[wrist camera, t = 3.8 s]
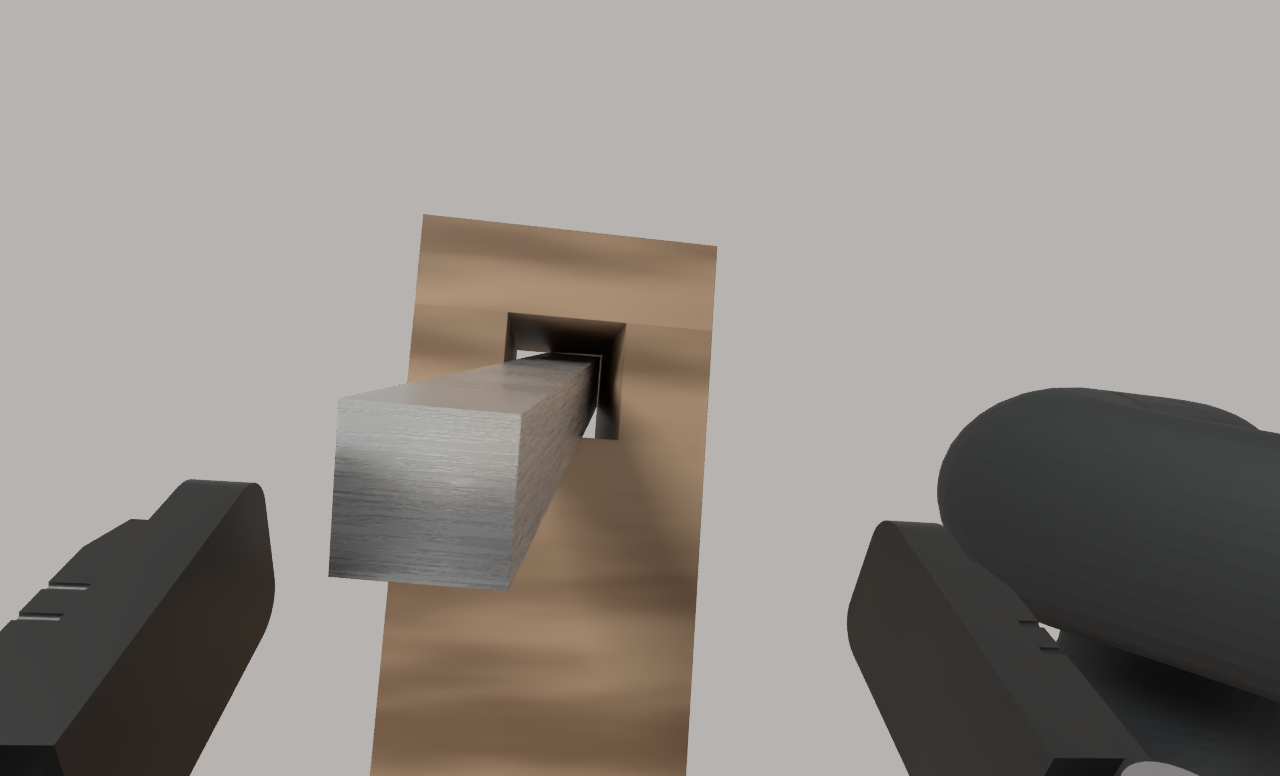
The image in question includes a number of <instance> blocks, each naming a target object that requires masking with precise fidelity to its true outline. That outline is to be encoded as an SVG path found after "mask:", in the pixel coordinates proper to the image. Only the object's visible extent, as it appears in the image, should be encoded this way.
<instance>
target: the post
mask: <svg viewBox="0 0 1280 776" xmlns="http://www.w3.org/2000/svg"><path fill="white" fill-rule="evenodd" d="M716 255H717V246H710V245H701V244H691V243H682V242H673V241H664V240H655V239H645V238H636V237H627V236H617V235H609V234H599V233H591V232H581V231H572V230H563V229H554V228H544V227H536V226H526V225H517V224H508V223H499V222H489V221H480V220H471V219H462V218H452V217H444V216H434V215H425V214H424V215H423V225H422V234H421V245H420V255H419V266H418V277H417V287H416V298H415V308H414V318H413V329H412V339H411V350H410V361H409V372H408V382H407V383H412V382H416V381H421V380H425V379H430V378H434V377H439V376H444V375H448V374H453V373H457V372H462V371H466V370H471V369H476V368H480V367H485V366H489V365H494V364H498V363H503V362H508V361H512V360H516V355H517V350H524V351H536V352H548V353H549V352H555V353H566V354H578V355H589V356H600V357H601V363H600V375H599V387H598V401H597V415H596V429H595V439H593V438H581V440H580V443H579V445H578V447H577V449H576V451H575V453H574V455H573V457H572V459H571V461H570V463H569V465H568V468H567V470H566V472H565V474H564V476H563V478H562V480H561V482H560V484H559V486H558V488H557V490H556V493H555V495H554V497H553V499H552V501H551V503H550V505H549V507H548V509H547V511H546V513H545V515H544V518H543V520H542V522H541V524H540V526H539V528H538V530H537V532H536V534H535V536H534V538H533V540H532V542H531V545H530V547H529V549H528V551H527V553H526V555H525V557H524V559H523V561H522V563H521V565H520V567H519V570H518V572H517V574H516V576H515V578H514V580H513V582H512V584H511V586H510V588H509V590H508V591H497V590H485V589H473V588H461V587H449V586H436V585H424V584H412V583H400V582H388V593H387V603H386V613H385V624H384V634H383V645H382V657H381V666H380V676H379V687H378V698H377V708H376V718H375V729H374V740H373V751H372V761H371V771H370V776H686V765H687V764H686V763H687V747H688V730H689V715H690V696H691V681H692V664H693V647H694V646H693V645H694V630H695V613H696V596H697V579H698V562H699V545H700V544H699V543H700V528H701V511H702V510H701V509H702V494H703V476H704V460H705V443H706V426H707V409H708V391H709V375H710V359H711V342H712V324H713V307H714V290H715V273H716V257H717V256H716Z"/></svg>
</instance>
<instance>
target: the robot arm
mask: <svg viewBox="0 0 1280 776" xmlns="http://www.w3.org/2000/svg"><path fill="white" fill-rule="evenodd" d="M937 497H938V505H939V510H940V516H941V521H942V523H943V526H944V527H943V526H942V525H940V524H937V523H920V522H903V521H901V522H900V521H883V522H881V523H880V524H879V525H878V526H877V527H876V529H875V531H874V533H873V536H872V539H871V542H870V545H869V548H868V551H867V554H866V556H865V560H864V562H863V566H862V568H861V571H860V574H859V577H858V580H857V583H856V586H855V589H854V592H853V595H852V598H851V601H850V604H849V608H848V615H847V631H848V638H849V643H850V647H851V650H852V652H853V655H854V657H855V659H856V661H857V664H858V666H859V668H860V670H861V672H862V674H863V676H864V679H865V681H866V683H867V685H868V687H869V689H870V692H871V694H872V696H873V698H874V700H875V702H876V705H877V707H878V709H879V711H880V713H881V715H882V717H883V720H884V722H885V724H886V726H887V728H888V730H889V733H890V735H891V737H892V739H893V741H894V743H895V746H896V748H897V750H898V752H899V754H900V756H901V758H902V761H903V763H904V764H905V767H906V769H907V771H908V774H909V776H1280V434H1278V433H1273V432H1267V431H1261V430H1259V429H1257V428H1256V427H1255V426H1253V425H1252V424H1250V423H1249V422H1248V421H1246V420H1244V419H1242V418H1240V417H1238V416H1237V415H1234V414H1232V413H1229V412H1227V411H1224V410H1222V409H1219V408H1216V407H1212V406H1209V405H1206V404H1201V403H1195V402H1190V401H1185V400H1178V399H1170V398H1163V397H1155V396H1147V395H1139V394H1130V393H1122V392H1114V391H1106V390H1097V389H1089V388H1050V389H1044V390H1038V391H1032V392H1028V393H1024V394H1021V395H1019V396H1016V397H1013V398H1011V399H1008V400H1005V401H1003V402H1000V403H998V404H996V405H994V406H993V407H991V408H989V409H988V410H986V411H985V412H983V413H981V414H980V415H979V416H977V417H976V418H975V419H974V420H973V421H972V422H970V423H969V424H968V425H967V426H966V427H965V428H964V429H963V430H962V431H961V432H960V434H959V435H958V436H957V437H956V439H955V440H954V441H953V443H952V444H951V445H950V448H949V450H948V452H947V454H946V456H945V458H944V460H943V462H942V466H941V469H940V473H939V478H938V487H937ZM274 592H275V579H274V570H273V562H272V553H271V545H270V537H269V528H268V520H267V512H266V504H265V497H264V493H263V490H262V488H261V487H260V486H259V485H258V484H257V483H245V482H228V481H210V480H193V479H190V480H186V481H185V482H183V483H182V484H181V485H180V486H179V487H178V488H177V489H176V490H175V491H174V492H173V493H172V494H171V495H170V497H169V498H168V499H167V500H166V501H165V502H164V503H163V504H162V505H161V507H160V508H159V509H158V510H157V511H156V512H155V513H154V514H153V516H152V517H151V518H150V519H149V520H138V519H130V520H128V521H127V522H125V523H123V524H122V525H120V526H118V527H116V528H115V529H113V530H112V531H110V532H108V533H106V534H104V535H103V536H101V537H100V538H98V539H96V540H94V541H92V542H91V543H89V544H87V545H86V546H84V547H83V548H82V549H81V550H80V551H79V552H78V553H77V554H76V555H75V556H74V557H73V558H72V559H71V560H70V561H69V562H68V563H67V564H66V565H65V566H64V567H63V568H62V569H61V570H60V571H59V572H58V573H57V574H56V575H55V576H54V577H53V578H52V579H51V580H50V581H49V586H48V588H47V589H41V590H40V591H39V592H38V594H36V596H34V597H33V599H32V600H31V601H30V602H29V603H28V604H27V605H26V606H25V607H24V608H23V609H22V610H21V611H20V612H19V618H18V619H17V620H11V621H10V622H9V623H8V624H7V625H6V626H5V627H4V628H3V629H2V630H1V631H0V776H190V774H191V772H192V770H193V768H194V766H195V764H196V762H197V760H198V759H199V757H200V755H201V753H202V751H203V749H204V747H205V745H206V743H207V741H208V740H209V738H210V736H211V734H212V732H213V730H214V728H215V726H216V724H217V722H218V721H219V719H220V717H221V715H222V713H223V711H224V709H225V707H226V705H227V703H228V701H229V700H230V698H231V696H232V694H233V692H234V690H235V688H236V686H237V684H238V682H239V681H240V678H241V677H242V675H243V673H244V671H245V669H246V667H247V665H248V663H249V662H250V660H251V657H252V656H253V654H254V652H255V650H256V648H257V646H258V644H259V643H260V640H261V639H262V637H263V635H264V633H265V630H266V628H267V625H268V623H269V619H270V616H271V612H272V607H273V602H274V594H275V593H274ZM1038 622H1040V623H1043V624H1045V625H1048V626H1051V627H1054V628H1057V629H1060V634H1059V638H1058V640H1057V641H1056V642H1055V641H1054V639H1053V638H1052V637H1051V636H1050V635H1049V633H1048V632H1047V631H1046V630H1045V628H1041V627H1039V625H1038Z"/></svg>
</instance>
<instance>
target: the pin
mask: <svg viewBox="0 0 1280 776" xmlns="http://www.w3.org/2000/svg"><path fill="white" fill-rule="evenodd" d="M600 363H601V357H600V356H589V355H578V354H566V353H555V352H549V353H545V354H540V355H535V356H531V357H526V358H521V359H517V360H512V361H508V362H503V363H498V364H494V365H489V366H485V367H480V368H476V369H471V370H466V371H462V372H457V373H453V374H448V375H444V376H439V377H434V378H430V379H425V380H421V381H416V382H412V383H407V384H402V385H398V386H394V387H389V388H384V389H380V390H375V391H371V392H366V393H361V394H357V395H352V396H347V397H343V398H339V400H338V418H337V436H336V453H335V471H334V490H333V507H332V524H331V542H330V559H329V577H339V578H351V579H363V580H376V581H388V582H400V583H412V584H424V585H436V586H449V587H461V588H473V589H485V590H497V591H508V590H509V588H510V586H511V584H512V582H513V580H514V578H515V576H516V574H517V572H518V570H519V567H520V565H521V563H522V561H523V559H524V557H525V555H526V553H527V551H528V549H529V547H530V545H531V542H532V540H533V538H534V536H535V534H536V532H537V530H538V528H539V526H540V524H541V522H542V520H543V518H544V515H545V513H546V511H547V509H548V507H549V505H550V503H551V501H552V499H553V497H554V495H555V493H556V490H557V488H558V486H559V484H560V482H561V480H562V478H563V476H564V474H565V472H566V470H567V468H568V465H569V463H570V461H571V459H572V457H573V455H574V453H575V451H576V449H577V447H578V445H579V443H580V440H581V438H582V436H583V434H584V432H585V430H586V428H587V426H588V424H589V422H590V420H591V418H592V416H593V413H594V411H595V409H596V407H597V398H598V386H599V375H600Z"/></svg>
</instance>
